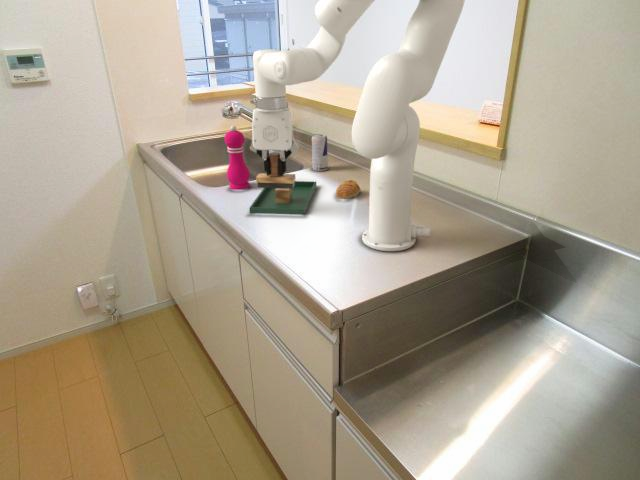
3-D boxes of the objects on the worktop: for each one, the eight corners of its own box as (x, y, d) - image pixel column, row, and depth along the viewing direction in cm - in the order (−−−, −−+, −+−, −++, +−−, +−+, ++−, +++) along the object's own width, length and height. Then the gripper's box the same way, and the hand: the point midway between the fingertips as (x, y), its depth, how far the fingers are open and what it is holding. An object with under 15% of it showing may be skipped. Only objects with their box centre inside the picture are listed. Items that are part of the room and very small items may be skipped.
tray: (316, 188, 142) (316, 181, 141) (304, 217, 121) (304, 209, 120) (269, 187, 144) (269, 180, 143) (250, 215, 123) (249, 207, 122)
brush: (295, 184, 123) (294, 152, 119) (293, 189, 120) (291, 155, 116) (260, 183, 124) (257, 151, 120) (256, 187, 121) (254, 155, 117)
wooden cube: (292, 198, 132) (291, 185, 130) (289, 203, 129) (288, 190, 127) (278, 198, 133) (277, 185, 131) (275, 203, 129) (274, 190, 127)
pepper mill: (253, 185, 147) (247, 122, 138) (248, 192, 140) (241, 127, 132) (231, 184, 148) (224, 123, 139) (225, 192, 141) (217, 128, 132)
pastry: (353, 202, 130) (353, 190, 129) (331, 200, 132) (331, 188, 131) (361, 191, 138) (361, 179, 137) (340, 190, 140) (340, 178, 139)
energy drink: (330, 168, 161) (329, 134, 156) (322, 172, 157) (321, 138, 152) (317, 166, 164) (316, 133, 159) (309, 170, 160) (308, 136, 155)
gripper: (235, 105, 110) (242, 177, 118) (301, 106, 108) (303, 179, 116) (243, 100, 117) (249, 169, 125) (306, 101, 114) (308, 170, 123)
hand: (275, 173), depth 120 cm, fingers closed on brush, 2 cm apart
